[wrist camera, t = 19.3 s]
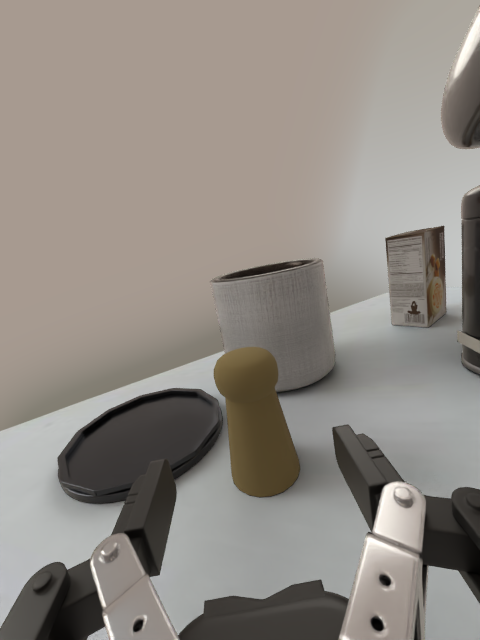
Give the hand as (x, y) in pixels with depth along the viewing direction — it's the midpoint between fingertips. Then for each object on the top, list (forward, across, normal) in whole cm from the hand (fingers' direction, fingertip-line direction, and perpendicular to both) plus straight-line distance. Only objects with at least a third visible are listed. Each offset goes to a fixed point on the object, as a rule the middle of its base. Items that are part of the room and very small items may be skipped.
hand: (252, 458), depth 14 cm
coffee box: (+40, -33, +10) cm, 52 cm away
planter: (+29, -5, +9) cm, 31 cm away
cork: (+10, 0, +9) cm, 14 cm away
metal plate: (+18, +13, +9) cm, 24 cm away
